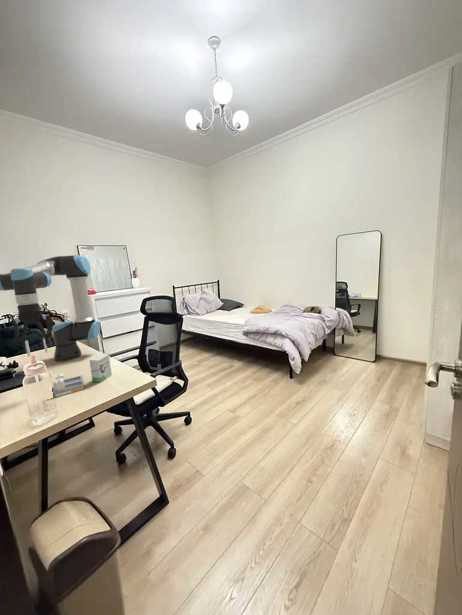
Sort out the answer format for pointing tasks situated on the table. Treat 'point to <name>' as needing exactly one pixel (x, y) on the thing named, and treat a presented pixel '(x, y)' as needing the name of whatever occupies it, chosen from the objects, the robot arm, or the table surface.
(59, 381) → the tab
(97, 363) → the ink box
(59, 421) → the table surface
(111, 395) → the table surface
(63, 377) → the tab
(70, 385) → the switch bank
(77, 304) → the robot arm
